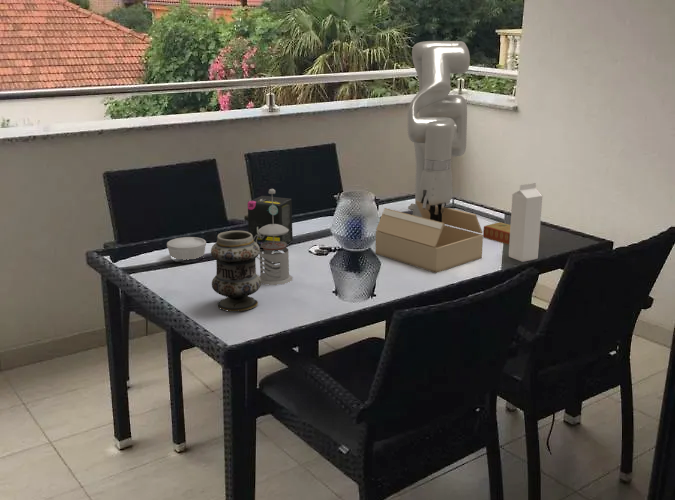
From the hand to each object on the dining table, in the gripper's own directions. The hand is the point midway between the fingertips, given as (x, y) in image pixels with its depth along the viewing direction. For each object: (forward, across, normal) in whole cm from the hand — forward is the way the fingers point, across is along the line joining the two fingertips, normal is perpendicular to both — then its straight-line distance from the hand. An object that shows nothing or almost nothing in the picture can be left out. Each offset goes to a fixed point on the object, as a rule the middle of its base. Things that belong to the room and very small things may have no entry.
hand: (435, 226), depth 223 cm
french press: (+9, +49, -15) cm, 52 cm away
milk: (+9, -16, +20) cm, 27 cm away
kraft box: (+8, +3, 0) cm, 9 cm away
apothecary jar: (+9, +67, -5) cm, 68 cm away
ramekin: (+9, +57, -46) cm, 74 cm away
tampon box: (+9, +31, -40) cm, 51 cm away
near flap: (-2, +11, 0) cm, 11 cm away
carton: (+9, -28, +7) cm, 30 cm away
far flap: (-2, -5, 0) cm, 6 cm away
